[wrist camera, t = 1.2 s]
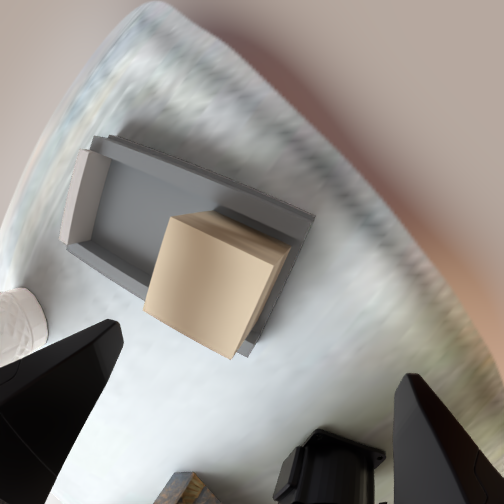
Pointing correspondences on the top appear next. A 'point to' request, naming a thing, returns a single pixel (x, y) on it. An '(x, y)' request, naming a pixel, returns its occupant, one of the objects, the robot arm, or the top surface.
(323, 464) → the robot arm
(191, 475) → the brown piece
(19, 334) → the white cup
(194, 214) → the birch block
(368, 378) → the top surface
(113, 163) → the chute
